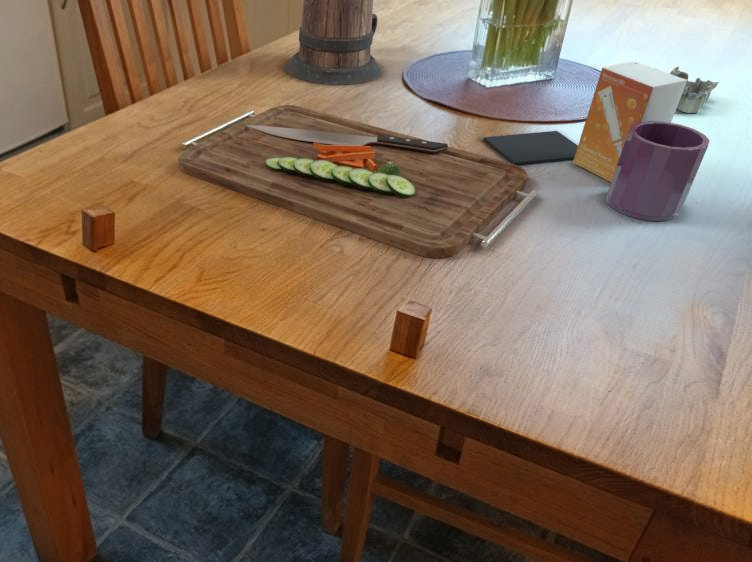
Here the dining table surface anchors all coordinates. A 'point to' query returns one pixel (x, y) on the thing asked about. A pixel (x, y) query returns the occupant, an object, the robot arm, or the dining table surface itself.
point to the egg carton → (693, 92)
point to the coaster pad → (534, 147)
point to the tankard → (336, 42)
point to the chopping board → (360, 178)
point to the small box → (624, 112)
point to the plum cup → (656, 170)
